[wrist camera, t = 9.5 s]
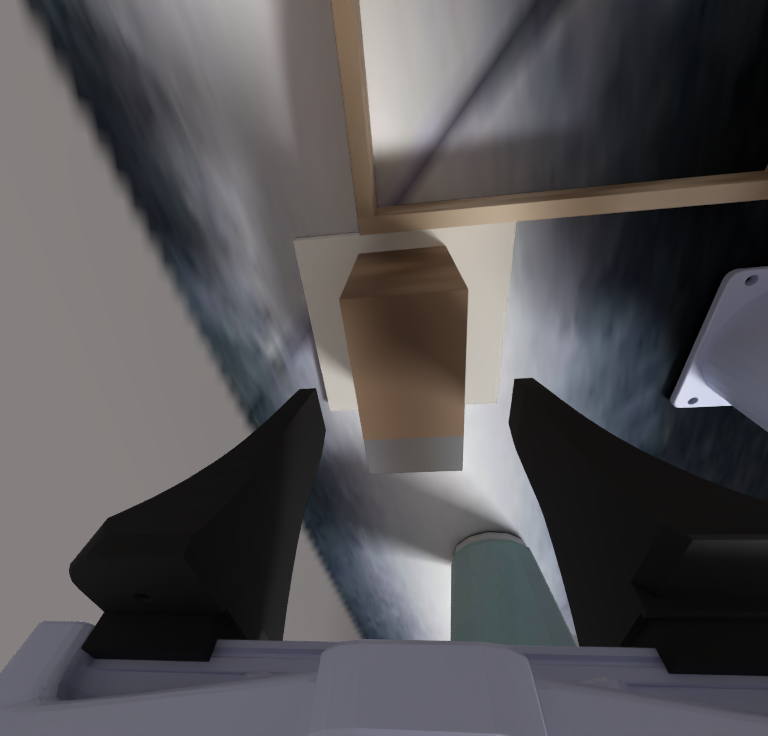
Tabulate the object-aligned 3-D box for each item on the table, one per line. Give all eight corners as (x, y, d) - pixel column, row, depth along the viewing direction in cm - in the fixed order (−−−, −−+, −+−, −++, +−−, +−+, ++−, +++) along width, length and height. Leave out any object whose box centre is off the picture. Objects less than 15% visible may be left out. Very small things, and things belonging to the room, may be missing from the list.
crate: (1006, -331, 8) (1275, -546, 6) (773, 185, 14) (855, 191, 12) (320, -197, 10) (292, -323, 7) (366, 222, 16) (359, 235, 13)
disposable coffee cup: (556, 508, 26) (709, 851, 13) (553, 580, 31) (659, 872, 18) (418, 523, 27) (435, 839, 15) (438, 589, 33) (463, 862, 20)
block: (445, 245, 15) (468, 289, 10) (445, 389, 20) (462, 470, 14) (358, 253, 16) (339, 299, 11) (377, 392, 20) (369, 474, 15)
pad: (512, 218, 15) (516, 221, 15) (494, 397, 20) (496, 403, 20) (296, 238, 16) (292, 240, 16) (331, 404, 21) (330, 411, 21)
